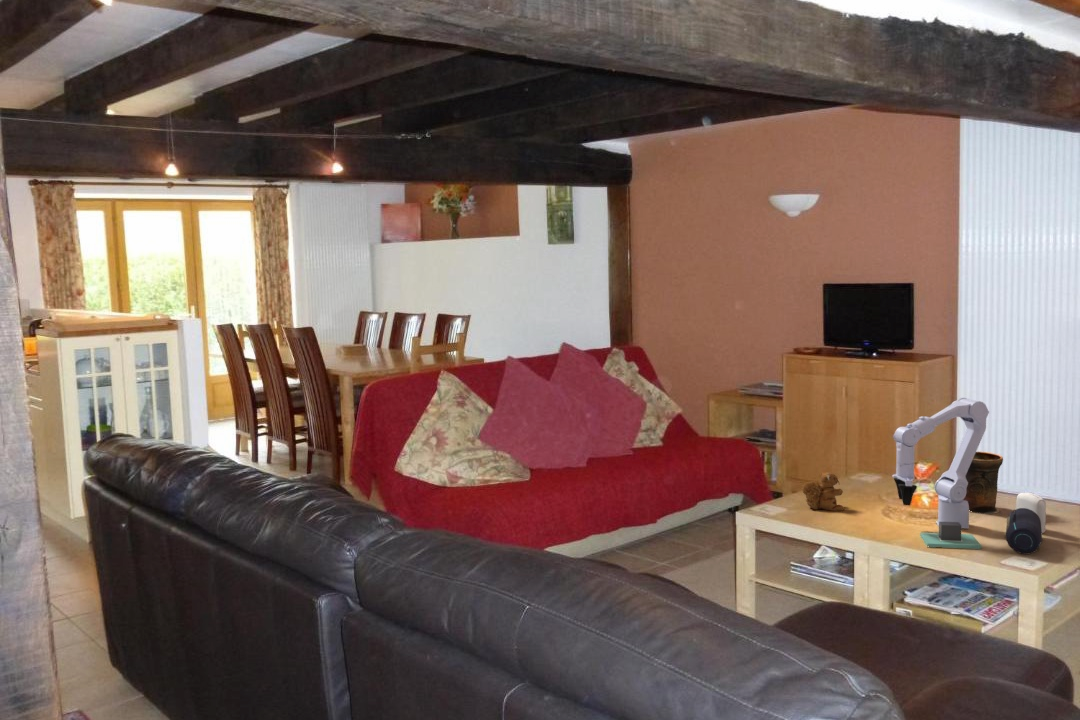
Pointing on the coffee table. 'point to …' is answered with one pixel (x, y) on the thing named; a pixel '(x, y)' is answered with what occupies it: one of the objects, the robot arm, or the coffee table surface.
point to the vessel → (983, 482)
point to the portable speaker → (1023, 531)
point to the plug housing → (950, 531)
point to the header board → (966, 541)
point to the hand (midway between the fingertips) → (904, 502)
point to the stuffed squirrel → (823, 493)
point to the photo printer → (1033, 506)
